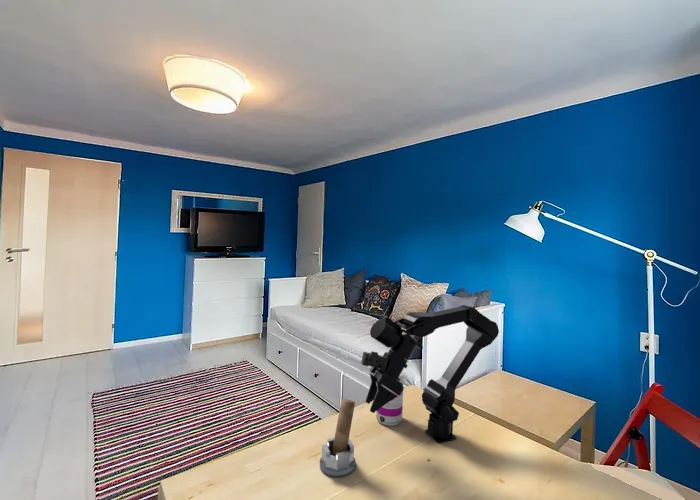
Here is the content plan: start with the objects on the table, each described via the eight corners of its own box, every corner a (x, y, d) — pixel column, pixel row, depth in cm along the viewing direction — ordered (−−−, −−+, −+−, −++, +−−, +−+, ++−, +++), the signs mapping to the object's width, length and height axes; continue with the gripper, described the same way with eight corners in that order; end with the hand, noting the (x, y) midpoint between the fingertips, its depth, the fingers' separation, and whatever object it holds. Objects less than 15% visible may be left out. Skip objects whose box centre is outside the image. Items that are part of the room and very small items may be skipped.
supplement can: (401, 428, 105) (402, 379, 105) (374, 424, 107) (375, 376, 106) (402, 415, 113) (404, 369, 112) (377, 411, 115) (379, 367, 114)
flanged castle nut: (347, 451, 93) (347, 432, 93) (361, 472, 85) (361, 452, 85) (315, 458, 90) (315, 439, 89) (326, 481, 81) (326, 460, 81)
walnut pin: (339, 455, 90) (349, 399, 92) (347, 461, 87) (357, 403, 89) (328, 456, 88) (338, 399, 90) (336, 463, 85) (347, 403, 87)
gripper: (369, 336, 104) (341, 383, 101) (379, 341, 86) (345, 398, 83) (400, 357, 104) (374, 404, 101) (417, 366, 85) (385, 424, 82)
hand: (369, 407), depth 92 cm, fingers open, 9 cm apart
